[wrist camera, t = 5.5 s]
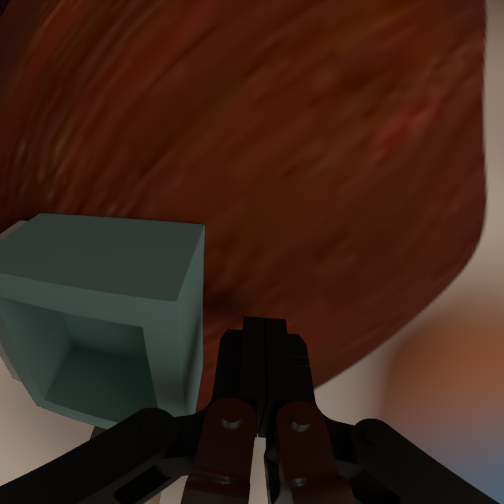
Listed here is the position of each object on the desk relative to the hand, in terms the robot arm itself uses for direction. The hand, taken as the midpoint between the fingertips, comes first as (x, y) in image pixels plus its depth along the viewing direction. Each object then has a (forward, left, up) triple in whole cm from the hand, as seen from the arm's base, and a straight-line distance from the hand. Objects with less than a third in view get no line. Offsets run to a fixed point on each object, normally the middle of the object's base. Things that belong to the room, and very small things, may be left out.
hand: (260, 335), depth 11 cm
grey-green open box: (0, -6, -2) cm, 6 cm away
